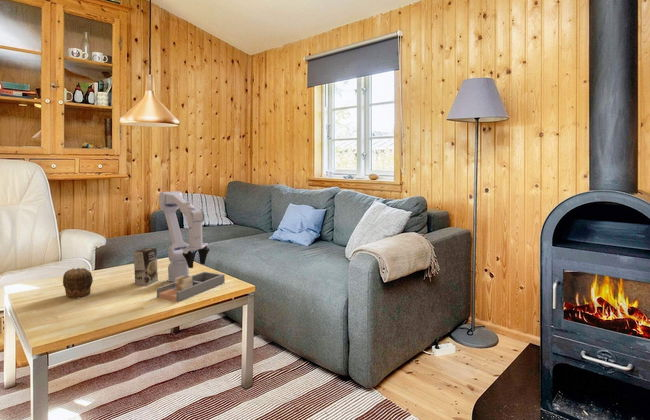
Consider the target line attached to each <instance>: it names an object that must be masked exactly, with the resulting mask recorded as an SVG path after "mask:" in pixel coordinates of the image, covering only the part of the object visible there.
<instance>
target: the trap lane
mask: <svg viewBox="0 0 650 420" xmlns="http://www.w3.org/2000/svg"><path fill="white" fill-rule="evenodd" d="M189 276H190V277H192V282H193V286H191V287H188V288H186V289H183V290H176V284H175V282H171V283H167V284H165V285H162V286H159V287H157V288H156V298H159V299H162V300H163V299H164V300H169V301H174V302H178V303H179V302H182V301H184V300H187V299H189V298H192V297H194V296H196V295H199V294H201V293H204V292H206V291H208V290H211V289H213V288H215V287H218V286H220V285H221V286H222V285H223V284H225V283H226V282H225V281H226V280H225V274H222V273H215V272H210V271H202V272H199V273H195V274H193V275H189Z"/></svg>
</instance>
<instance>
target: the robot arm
mask: <svg viewBox="0 0 650 420" xmlns="http://www.w3.org/2000/svg"><path fill="white" fill-rule="evenodd" d="M158 203H159V207H160V210H161V211H163V212H164V216H165V220H166V223H167V227H168V231H169V235H170V239H171V243H172V244H171V245H170V246H169V247H168V249H167V252H168V253H167V255H168V261H169V262H170V263H169V264H168V267H167V274H168V276H167V277H168V279H167V282H171V283H173V282H175V278H178V277H181V276H190V269H193V268H194V259H195V255H196V253H193V252H196V251H197V252H198V256H199V263H200V265H206V259H207V257H208V255H209V252H210V248H209V243H208V242H203V222H204V221H205V213H204V211H203V210H202V209H200V208H199V209H197V207H195V206H194V205H193V204H192V203H191V202H190V201H186V200H185V199H184V197H183V193H182V192H181V191H180V190H177V191H176V190H175V191H160V192H159V195H158ZM177 210H179V211H180V212H181V213H182V214H183V216H185V220H186V222H187V225H186V226H187V227H188V242H189V243H188V242H185V241H184V239H183V236H182V232H181V228H180V225H179V220H178V217H177V214H176V211H177Z"/></svg>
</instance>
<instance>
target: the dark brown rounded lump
mask: <svg viewBox="0 0 650 420" xmlns="http://www.w3.org/2000/svg"><path fill="white" fill-rule="evenodd" d="M93 282H94V278H93V275H92V272H91V271H90V270H88V269H86V268H85V267H83V268H82V267H81V268H80V267H77V268H71V269H67V271H65V272H64V274H63V277H62V286H63V288H64V290H65V291H64V292H65V295H66V296H67V298H68V297H69V298H70V297H71V298H70V299H78V298H77V297H80V298H85V297H87V296H89V295H91V294H90V293H91V288H92V284H93ZM84 296H85V297H84Z"/></svg>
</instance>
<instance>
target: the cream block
mask: <svg viewBox="0 0 650 420" xmlns="http://www.w3.org/2000/svg"><path fill="white" fill-rule="evenodd" d="M190 276H191V275H189V276H181V277H178V278H175V284H176V290H183V289H186V288H188V287H191V286H193V282H192V277H190Z"/></svg>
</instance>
